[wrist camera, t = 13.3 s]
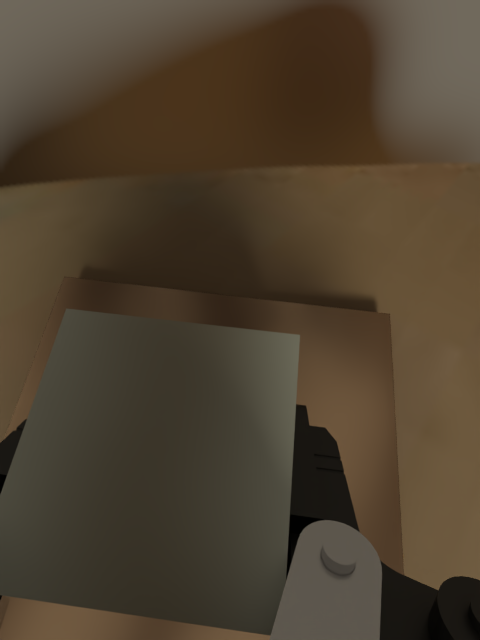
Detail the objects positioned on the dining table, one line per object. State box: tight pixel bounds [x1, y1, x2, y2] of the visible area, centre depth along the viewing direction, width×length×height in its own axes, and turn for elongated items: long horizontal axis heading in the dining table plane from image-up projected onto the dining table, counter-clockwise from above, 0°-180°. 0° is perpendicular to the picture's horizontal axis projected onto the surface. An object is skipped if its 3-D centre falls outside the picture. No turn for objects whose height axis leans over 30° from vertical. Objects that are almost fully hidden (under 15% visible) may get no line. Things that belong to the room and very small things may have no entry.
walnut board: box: [0, 277, 404, 640], centre depth 15 cm, size 16×16×2 cm
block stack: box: [0, 309, 300, 636], centre depth 10 cm, size 4×4×8 cm
